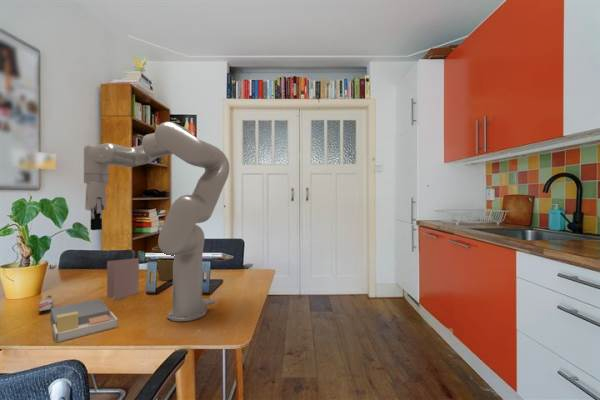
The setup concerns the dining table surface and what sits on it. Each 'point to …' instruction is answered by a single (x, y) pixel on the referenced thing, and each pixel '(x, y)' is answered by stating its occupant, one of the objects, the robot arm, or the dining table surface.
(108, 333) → the dining table surface
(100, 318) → the salmon pink block
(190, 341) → the dining table surface
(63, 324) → the tile mustard
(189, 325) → the dining table surface
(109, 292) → the greeting card
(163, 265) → the plant pot
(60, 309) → the slate board
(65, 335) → the tray
